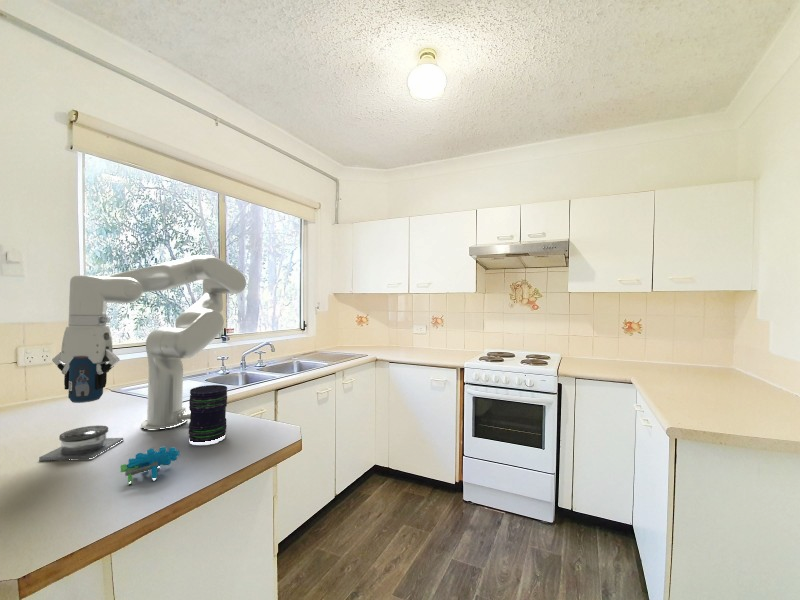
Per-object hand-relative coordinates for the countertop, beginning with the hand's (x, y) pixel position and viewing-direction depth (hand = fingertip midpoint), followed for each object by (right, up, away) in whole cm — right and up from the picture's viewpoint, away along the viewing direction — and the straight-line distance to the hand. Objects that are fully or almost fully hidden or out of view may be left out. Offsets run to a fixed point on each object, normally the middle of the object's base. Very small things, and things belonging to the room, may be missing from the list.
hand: (85, 387), depth 95 cm
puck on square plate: (0, -17, 0) cm, 17 cm away
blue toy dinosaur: (+26, -18, -13) cm, 34 cm away
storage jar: (+28, -18, +9) cm, 34 cm away
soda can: (0, -3, 0) cm, 3 cm away
